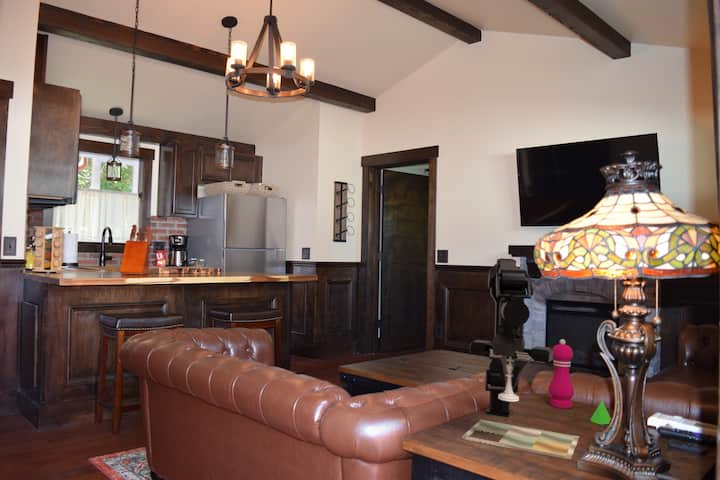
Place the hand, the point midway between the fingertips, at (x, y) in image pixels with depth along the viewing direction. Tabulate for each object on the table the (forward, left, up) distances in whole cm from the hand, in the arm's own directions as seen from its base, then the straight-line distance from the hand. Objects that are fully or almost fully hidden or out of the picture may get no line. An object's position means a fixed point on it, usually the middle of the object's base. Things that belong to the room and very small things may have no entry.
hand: (509, 387), depth 131 cm
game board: (-4, +2, -13) cm, 14 cm away
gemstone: (-32, +18, -13) cm, 39 cm away
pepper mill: (-43, +6, -13) cm, 46 cm away
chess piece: (0, 0, -3) cm, 3 cm away
